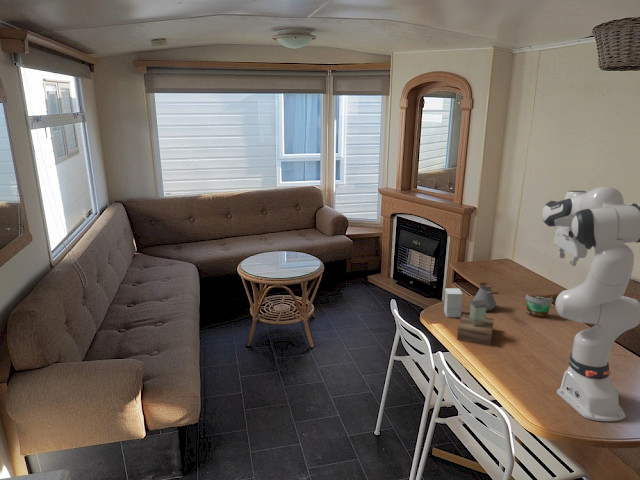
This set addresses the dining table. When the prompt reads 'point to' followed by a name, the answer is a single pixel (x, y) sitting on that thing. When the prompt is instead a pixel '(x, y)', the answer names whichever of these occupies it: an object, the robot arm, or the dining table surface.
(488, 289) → the coffee pot
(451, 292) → the supplement box
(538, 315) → the food container
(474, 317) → the sage tea tin
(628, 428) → the dining table surface
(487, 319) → the walnut box
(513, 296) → the dining table surface
